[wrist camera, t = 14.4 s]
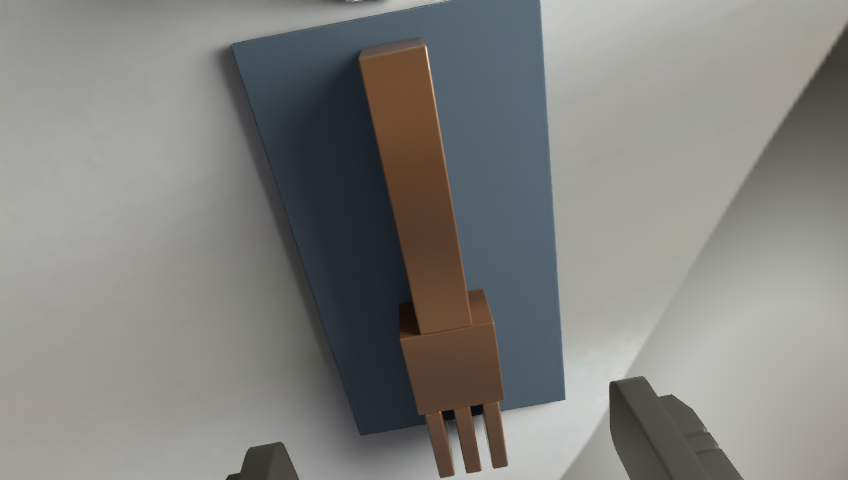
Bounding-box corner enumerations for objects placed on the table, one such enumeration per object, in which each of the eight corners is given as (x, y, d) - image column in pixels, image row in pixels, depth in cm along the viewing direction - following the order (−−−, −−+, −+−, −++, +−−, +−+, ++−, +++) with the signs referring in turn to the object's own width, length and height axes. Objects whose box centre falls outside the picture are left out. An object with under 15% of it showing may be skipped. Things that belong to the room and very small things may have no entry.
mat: (563, 393, 25) (565, 400, 24) (360, 429, 25) (360, 436, 24) (536, -17, 16) (539, -17, 16) (233, 43, 17) (229, 44, 16)
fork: (336, 53, 17) (329, 64, 14) (445, 31, 16) (454, 39, 14) (430, 437, 25) (434, 480, 23) (503, 424, 25) (514, 465, 23)
